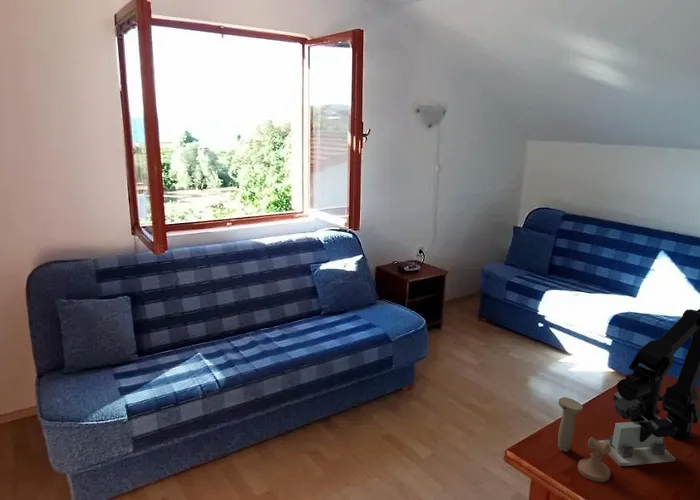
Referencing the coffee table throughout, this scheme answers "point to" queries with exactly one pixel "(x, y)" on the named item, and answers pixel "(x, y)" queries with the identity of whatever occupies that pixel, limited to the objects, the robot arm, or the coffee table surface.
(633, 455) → the cabinet panel
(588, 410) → the coffee table surface
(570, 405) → the handle
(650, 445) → the cabinet door
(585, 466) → the door knob
